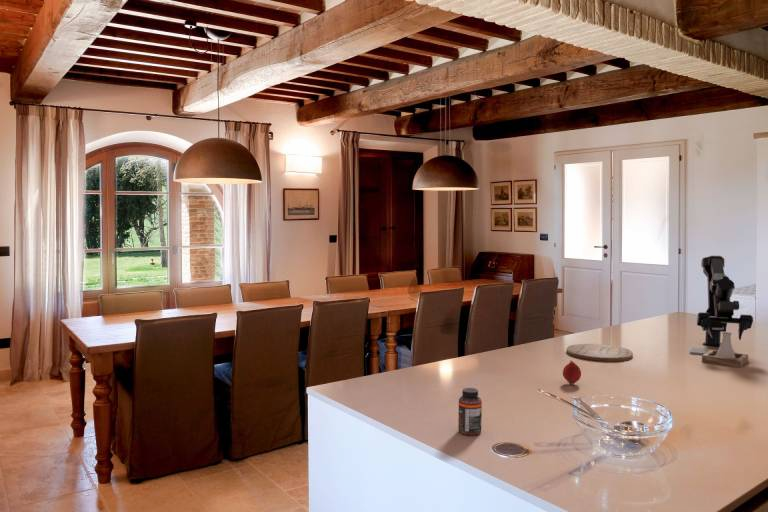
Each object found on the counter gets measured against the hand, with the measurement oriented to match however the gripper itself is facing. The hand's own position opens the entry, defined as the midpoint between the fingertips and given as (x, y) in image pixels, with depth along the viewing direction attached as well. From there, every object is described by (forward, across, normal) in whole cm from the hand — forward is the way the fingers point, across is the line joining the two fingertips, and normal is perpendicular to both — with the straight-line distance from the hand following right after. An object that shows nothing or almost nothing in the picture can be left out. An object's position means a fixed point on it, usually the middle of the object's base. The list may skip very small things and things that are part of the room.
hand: (726, 338), depth 238 cm
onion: (+43, -53, -30) cm, 75 cm away
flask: (+5, 0, +6) cm, 8 cm away
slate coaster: (-3, -6, +16) cm, 17 cm away
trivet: (+9, -45, +4) cm, 47 cm away
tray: (+6, 0, +7) cm, 9 cm away
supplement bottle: (+82, -76, -70) cm, 132 cm away
